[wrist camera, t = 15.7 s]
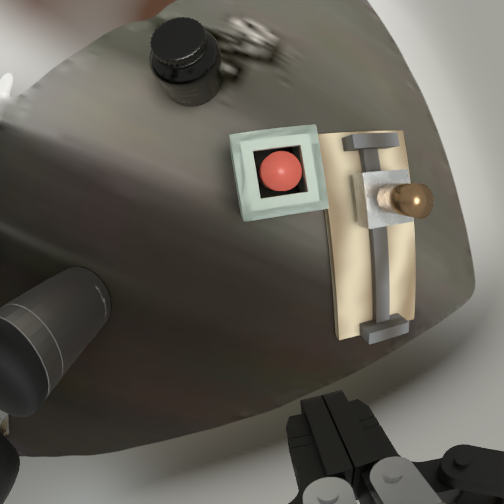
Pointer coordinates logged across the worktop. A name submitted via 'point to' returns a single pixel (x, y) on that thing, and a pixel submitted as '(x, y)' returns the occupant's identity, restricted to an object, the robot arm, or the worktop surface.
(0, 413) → the coffee box
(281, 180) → the button
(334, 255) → the rail track
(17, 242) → the worktop surface
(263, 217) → the button box
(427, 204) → the carriage
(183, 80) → the supplement bottle
